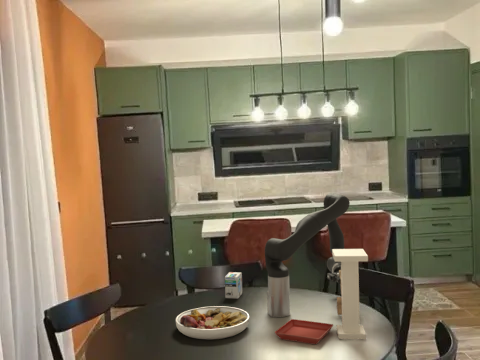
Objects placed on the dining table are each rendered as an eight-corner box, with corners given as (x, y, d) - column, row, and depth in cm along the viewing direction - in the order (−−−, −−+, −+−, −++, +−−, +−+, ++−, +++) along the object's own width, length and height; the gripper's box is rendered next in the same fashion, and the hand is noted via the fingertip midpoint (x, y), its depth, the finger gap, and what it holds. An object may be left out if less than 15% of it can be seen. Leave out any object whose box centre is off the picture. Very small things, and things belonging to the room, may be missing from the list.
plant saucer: (291, 326, 213) (291, 318, 213) (334, 332, 205) (334, 323, 205) (273, 340, 197) (273, 332, 197) (319, 347, 189) (319, 338, 188)
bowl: (215, 312, 233) (214, 295, 233) (264, 327, 212) (264, 308, 212) (161, 330, 212) (160, 311, 212) (210, 348, 191) (209, 327, 191)
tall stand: (333, 328, 208) (332, 249, 206) (364, 328, 206) (362, 248, 205) (336, 341, 194) (334, 256, 192) (369, 341, 192) (367, 255, 191)
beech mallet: (333, 275, 232) (333, 266, 229) (351, 274, 231) (351, 266, 228) (337, 314, 213) (337, 306, 210) (357, 314, 212) (358, 306, 209)
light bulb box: (238, 298, 254) (237, 277, 253) (225, 298, 255) (224, 276, 255) (242, 292, 264) (242, 272, 264) (229, 292, 266) (229, 271, 265)
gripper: (325, 264, 242) (327, 273, 225) (355, 263, 240) (360, 272, 223) (325, 279, 242) (327, 290, 225) (356, 279, 241) (360, 289, 224)
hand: (344, 281), depth 224 cm, fingers closed on beech mallet, 3 cm apart
